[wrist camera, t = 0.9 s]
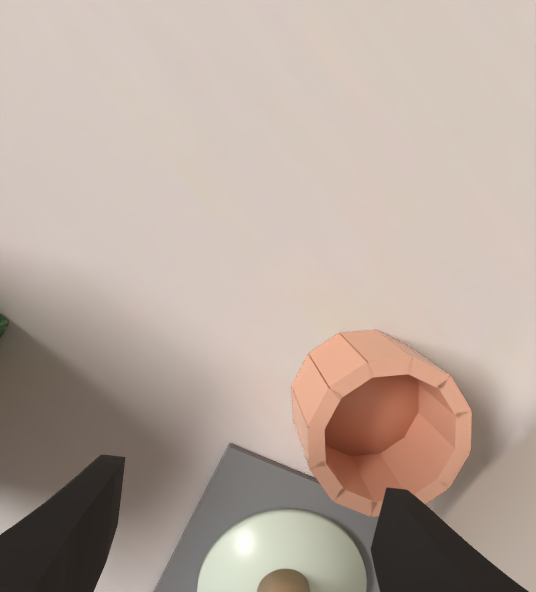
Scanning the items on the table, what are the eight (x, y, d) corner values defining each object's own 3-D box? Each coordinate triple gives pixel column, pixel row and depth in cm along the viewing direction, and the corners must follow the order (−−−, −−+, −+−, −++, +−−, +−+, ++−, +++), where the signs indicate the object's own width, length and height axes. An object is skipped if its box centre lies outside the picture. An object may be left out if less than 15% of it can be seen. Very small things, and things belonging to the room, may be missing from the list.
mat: (325, 694, 26) (327, 701, 26) (133, 631, 24) (131, 638, 24) (425, 524, 25) (428, 529, 24) (229, 443, 23) (229, 447, 22)
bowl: (384, 478, 24) (420, 537, 20) (268, 429, 23) (279, 479, 19) (448, 365, 23) (501, 400, 19) (332, 308, 22) (358, 331, 18)
